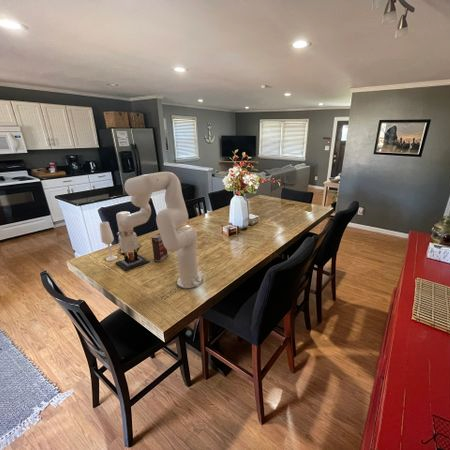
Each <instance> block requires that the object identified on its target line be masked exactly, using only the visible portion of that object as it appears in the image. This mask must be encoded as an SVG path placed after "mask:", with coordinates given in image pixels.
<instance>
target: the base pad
mask: <svg viewBox="0 0 450 450" xmlns="http://www.w3.org/2000/svg"><path fill="white" fill-rule="evenodd" d="M133 257H134V255H133ZM137 258H138V260H139V261H136V262H133V263H130V264H127V263H126V262H125V258H123V259H121V260H118V261H115V264H116V265H117V266H119V267H120V268H121V269H122V270H124V271H125V272H127V271H130V270H132V269H135V268H137V267H140V266H143V265H145V264H148V263H149V260H147V259H146V258H145V257H143V256H141V255H140V254H138V257H137ZM128 259H129V257H128Z"/></svg>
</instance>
